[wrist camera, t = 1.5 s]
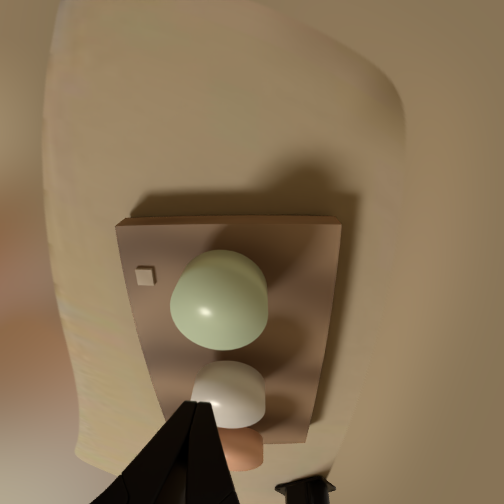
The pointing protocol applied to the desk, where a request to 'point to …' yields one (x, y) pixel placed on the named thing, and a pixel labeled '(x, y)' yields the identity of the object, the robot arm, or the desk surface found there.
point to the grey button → (231, 393)
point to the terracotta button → (242, 448)
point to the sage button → (220, 300)
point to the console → (279, 306)
